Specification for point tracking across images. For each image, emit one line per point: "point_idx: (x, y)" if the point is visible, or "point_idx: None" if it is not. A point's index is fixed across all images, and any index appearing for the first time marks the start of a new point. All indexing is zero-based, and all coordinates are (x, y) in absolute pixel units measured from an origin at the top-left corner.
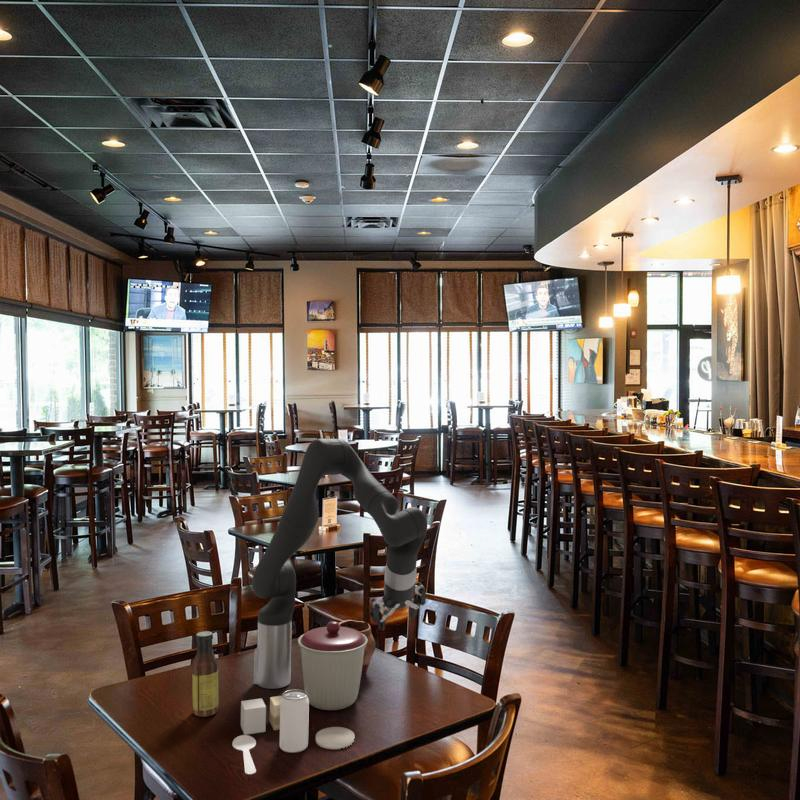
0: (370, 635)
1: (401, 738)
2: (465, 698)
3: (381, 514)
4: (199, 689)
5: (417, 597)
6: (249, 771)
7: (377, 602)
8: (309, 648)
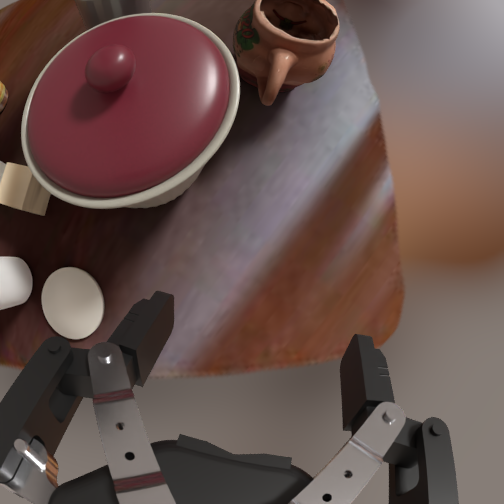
0: (321, 54)
1: (176, 367)
2: (379, 294)
3: None
4: None
5: (417, 447)
6: None
7: (12, 490)
8: (23, 131)
